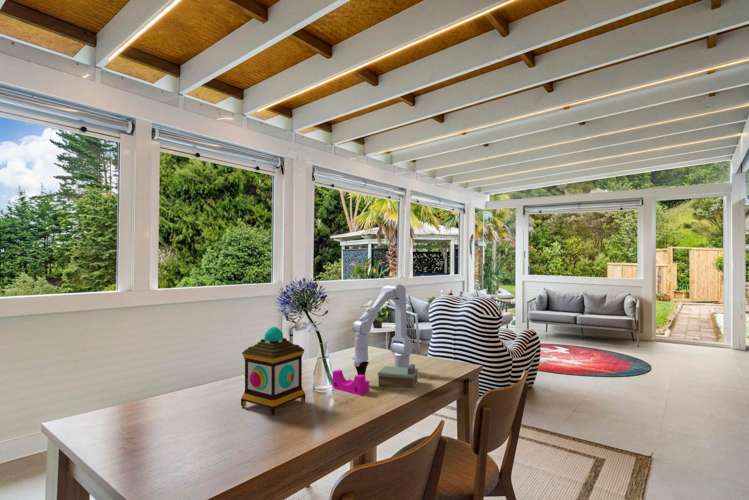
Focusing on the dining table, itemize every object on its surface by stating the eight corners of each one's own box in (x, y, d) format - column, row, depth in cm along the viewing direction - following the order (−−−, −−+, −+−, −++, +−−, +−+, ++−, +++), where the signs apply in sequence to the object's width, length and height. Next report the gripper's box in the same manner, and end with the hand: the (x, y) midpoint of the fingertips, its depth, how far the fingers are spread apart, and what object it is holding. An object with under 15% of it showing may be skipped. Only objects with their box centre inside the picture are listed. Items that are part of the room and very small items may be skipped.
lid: (384, 368, 196) (384, 360, 196) (418, 370, 192) (418, 363, 192) (377, 375, 184) (377, 367, 184) (413, 378, 180) (413, 370, 180)
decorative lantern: (272, 419, 149) (272, 333, 149) (235, 408, 160) (235, 327, 160) (310, 402, 166) (310, 325, 166) (274, 393, 176) (274, 320, 177)
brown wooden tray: (385, 379, 196) (385, 368, 196) (417, 382, 192) (417, 370, 192) (378, 387, 184) (378, 375, 184) (412, 390, 180) (412, 378, 180)
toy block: (369, 391, 179) (369, 374, 179) (359, 395, 174) (359, 377, 174) (342, 385, 188) (342, 368, 188) (332, 388, 183) (332, 371, 183)
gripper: (357, 344, 195) (357, 373, 195) (347, 351, 181) (347, 383, 181) (372, 344, 193) (372, 374, 193) (363, 351, 179) (363, 384, 179)
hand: (361, 378), depth 187 cm, fingers closed
